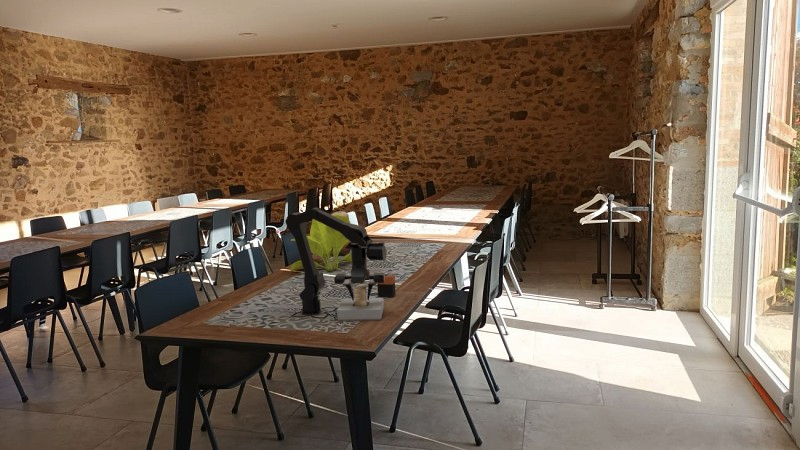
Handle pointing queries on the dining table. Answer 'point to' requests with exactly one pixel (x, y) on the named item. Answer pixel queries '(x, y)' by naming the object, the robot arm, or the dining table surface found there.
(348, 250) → the butternut squash
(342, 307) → the socket block
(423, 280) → the dining table surface
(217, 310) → the dining table surface
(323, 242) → the artificial plant
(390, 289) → the battery
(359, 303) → the peg
